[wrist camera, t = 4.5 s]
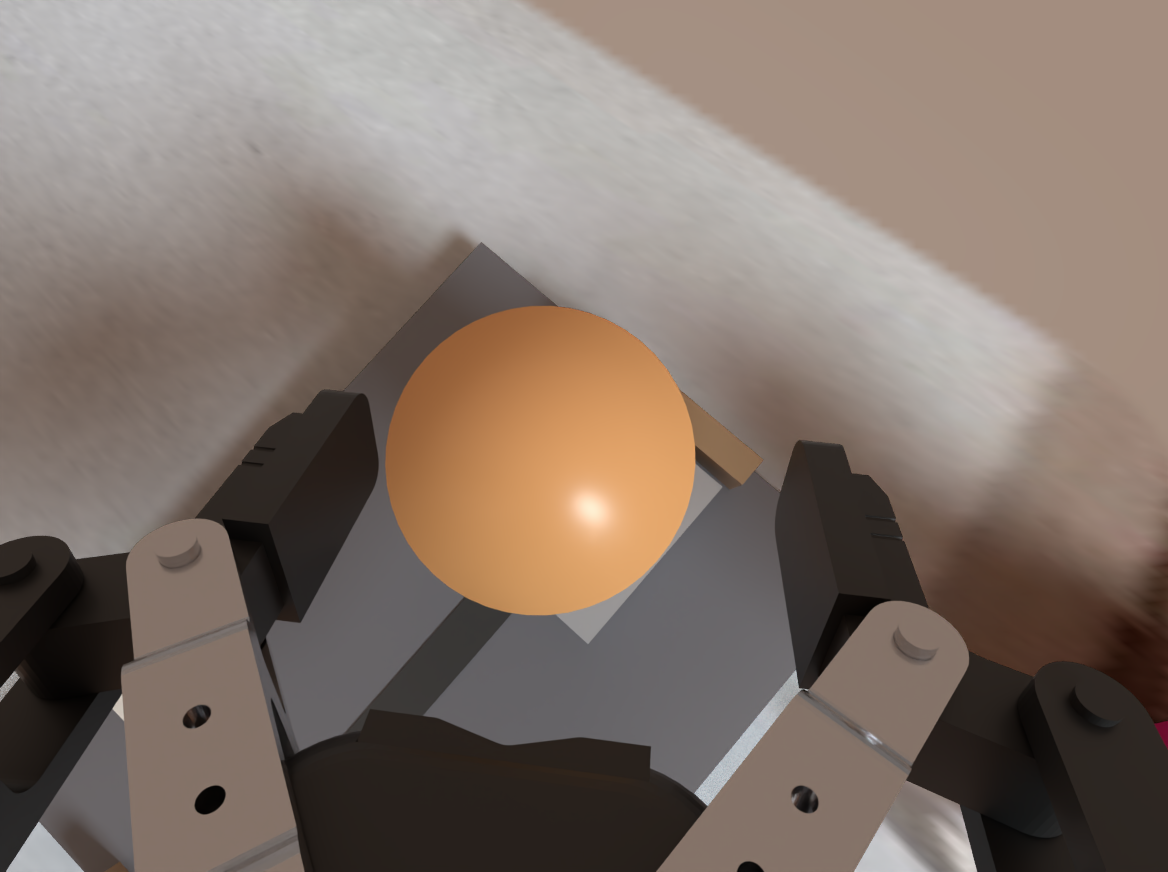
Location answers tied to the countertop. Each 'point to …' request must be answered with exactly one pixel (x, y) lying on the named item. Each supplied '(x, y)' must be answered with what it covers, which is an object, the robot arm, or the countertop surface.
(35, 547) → the robot arm
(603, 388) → the fader
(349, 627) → the fader track
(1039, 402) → the countertop surface
